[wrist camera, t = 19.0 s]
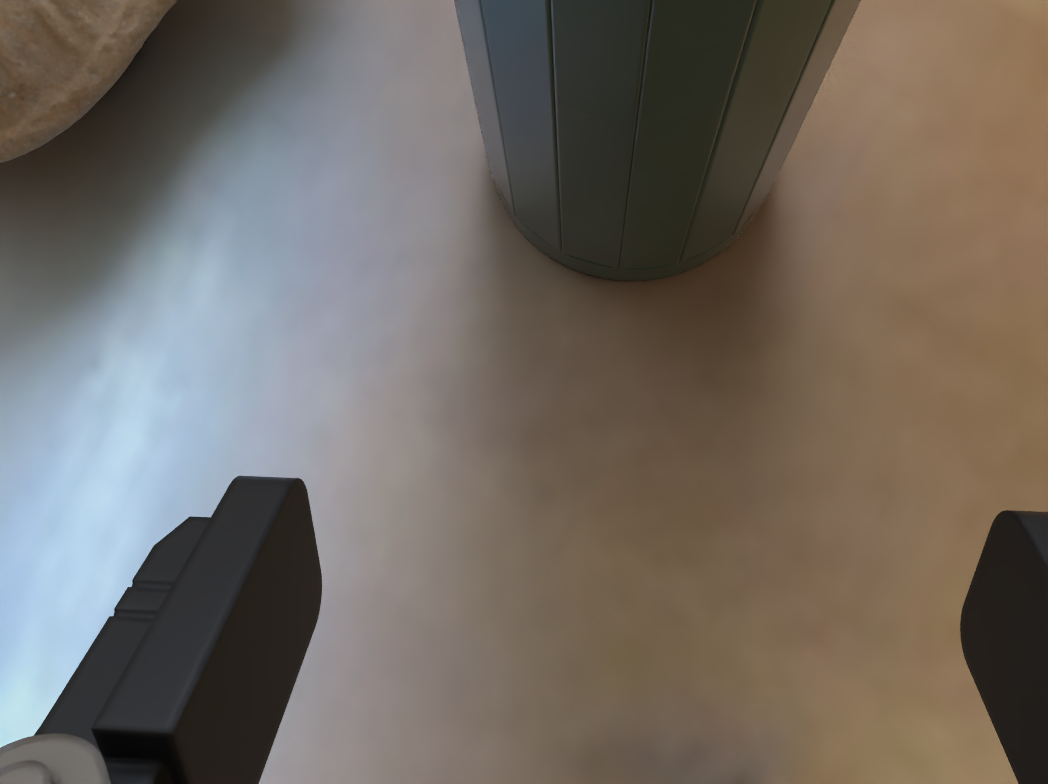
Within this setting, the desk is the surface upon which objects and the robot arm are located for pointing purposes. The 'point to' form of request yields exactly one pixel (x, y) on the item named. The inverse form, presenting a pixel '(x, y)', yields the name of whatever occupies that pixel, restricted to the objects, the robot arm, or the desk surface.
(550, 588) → the desk surface
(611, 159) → the pot
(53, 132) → the pottery oil lamp
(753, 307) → the desk surface
